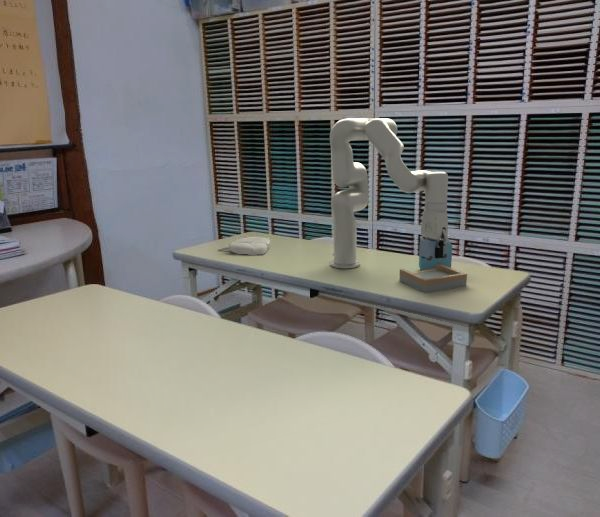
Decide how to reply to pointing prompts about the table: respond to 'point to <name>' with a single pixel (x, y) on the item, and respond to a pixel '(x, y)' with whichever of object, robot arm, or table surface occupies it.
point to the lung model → (249, 246)
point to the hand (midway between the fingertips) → (433, 255)
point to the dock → (434, 278)
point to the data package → (435, 261)
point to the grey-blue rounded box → (431, 248)
